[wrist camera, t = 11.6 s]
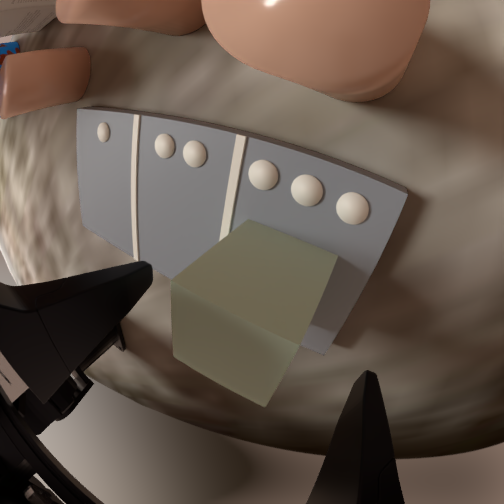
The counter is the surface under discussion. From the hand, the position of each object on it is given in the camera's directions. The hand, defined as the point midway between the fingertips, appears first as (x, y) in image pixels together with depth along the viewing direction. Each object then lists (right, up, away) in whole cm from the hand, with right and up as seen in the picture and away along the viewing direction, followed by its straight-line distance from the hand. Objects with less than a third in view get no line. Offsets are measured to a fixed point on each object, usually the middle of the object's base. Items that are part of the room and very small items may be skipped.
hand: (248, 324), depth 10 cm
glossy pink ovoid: (-13, +15, +4) cm, 20 cm away
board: (-3, +5, +5) cm, 8 cm away
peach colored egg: (+4, +10, -2) cm, 11 cm away
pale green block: (+1, +2, +3) cm, 3 cm away
